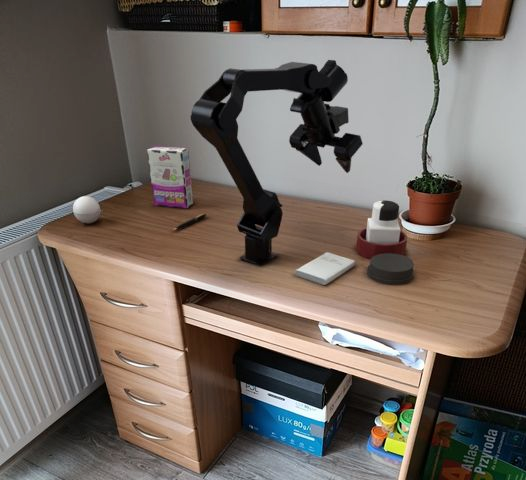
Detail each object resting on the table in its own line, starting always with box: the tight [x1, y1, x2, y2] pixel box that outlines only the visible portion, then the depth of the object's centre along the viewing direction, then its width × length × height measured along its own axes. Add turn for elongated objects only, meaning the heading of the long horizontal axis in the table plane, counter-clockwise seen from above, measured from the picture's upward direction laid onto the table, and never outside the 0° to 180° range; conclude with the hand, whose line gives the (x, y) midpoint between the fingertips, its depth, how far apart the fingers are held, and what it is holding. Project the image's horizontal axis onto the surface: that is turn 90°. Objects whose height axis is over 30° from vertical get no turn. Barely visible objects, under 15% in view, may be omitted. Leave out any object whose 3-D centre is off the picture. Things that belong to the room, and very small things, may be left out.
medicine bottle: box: [366, 199, 401, 244], centre depth 124 cm, size 7×7×12 cm
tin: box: [355, 227, 408, 260], centre depth 126 cm, size 12×12×4 cm
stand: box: [366, 253, 415, 286], centre depth 116 cm, size 10×10×3 cm
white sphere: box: [72, 195, 102, 224], centre depth 142 cm, size 10×7×7 cm
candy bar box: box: [146, 146, 194, 209], centre depth 152 cm, size 11×5×16 cm, turn 73°
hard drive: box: [294, 251, 356, 286], centre depth 118 cm, size 2×8×12 cm
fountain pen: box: [172, 213, 207, 231], centre depth 143 cm, size 14×1×2 cm, turn 146°
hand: (334, 168), depth 130 cm, fingers open, 9 cm apart
